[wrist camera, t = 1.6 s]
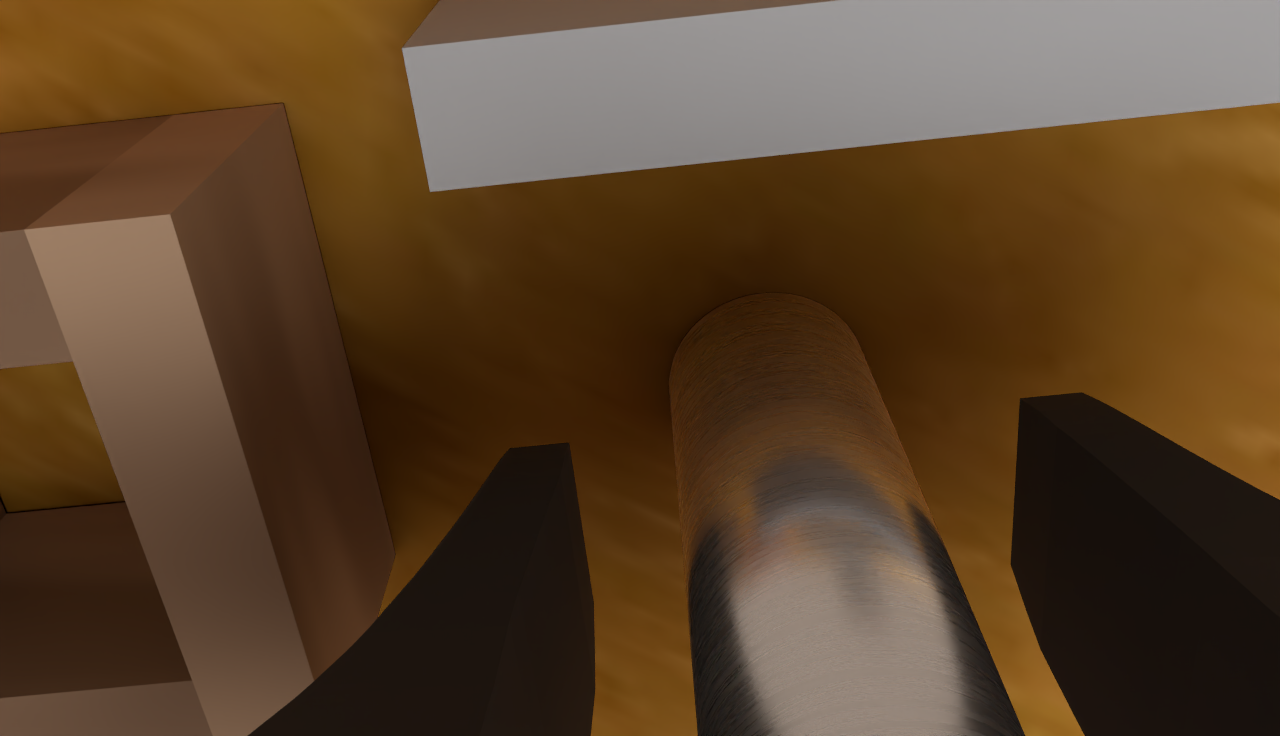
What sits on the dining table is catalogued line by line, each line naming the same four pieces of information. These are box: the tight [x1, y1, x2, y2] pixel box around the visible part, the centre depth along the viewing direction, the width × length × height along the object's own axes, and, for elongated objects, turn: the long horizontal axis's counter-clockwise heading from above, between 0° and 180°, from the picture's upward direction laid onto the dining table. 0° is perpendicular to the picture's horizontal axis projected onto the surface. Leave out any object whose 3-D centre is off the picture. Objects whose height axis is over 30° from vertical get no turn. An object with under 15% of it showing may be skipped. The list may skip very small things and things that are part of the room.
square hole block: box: [0, 103, 395, 736], centre depth 12 cm, size 6×6×4 cm
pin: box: [669, 293, 1025, 736], centre depth 11 cm, size 2×2×7 cm
